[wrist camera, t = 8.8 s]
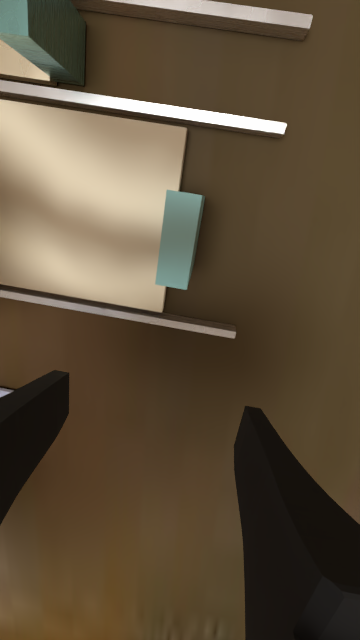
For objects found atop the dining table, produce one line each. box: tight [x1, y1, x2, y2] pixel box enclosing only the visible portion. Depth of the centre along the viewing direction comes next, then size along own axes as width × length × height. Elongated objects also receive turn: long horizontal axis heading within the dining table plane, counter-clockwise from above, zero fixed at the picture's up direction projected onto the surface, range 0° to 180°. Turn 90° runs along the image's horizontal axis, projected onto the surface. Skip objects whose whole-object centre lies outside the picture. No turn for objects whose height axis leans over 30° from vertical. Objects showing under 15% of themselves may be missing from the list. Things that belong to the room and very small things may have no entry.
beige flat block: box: [0, 99, 205, 313], centre depth 17 cm, size 11×23×6 cm, turn 81°
